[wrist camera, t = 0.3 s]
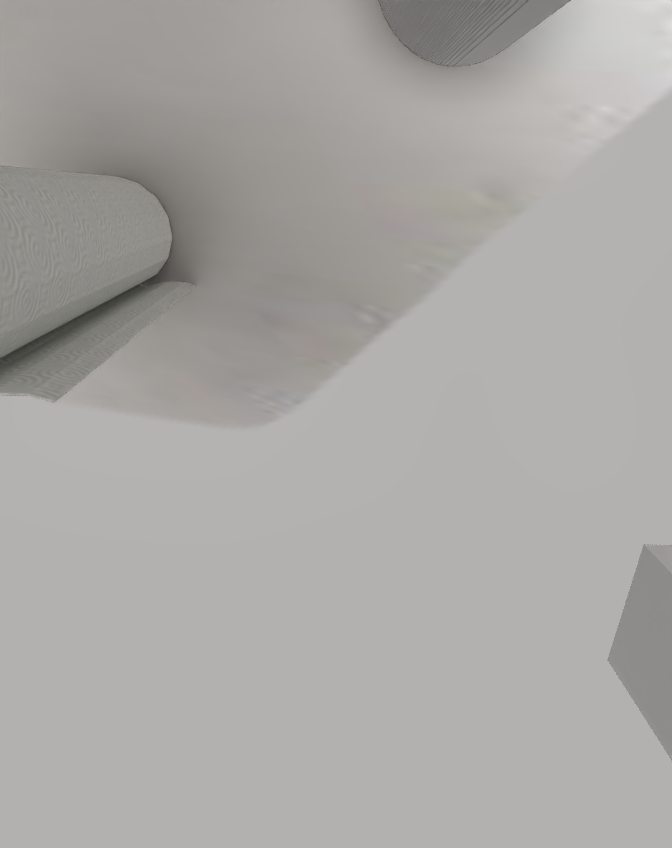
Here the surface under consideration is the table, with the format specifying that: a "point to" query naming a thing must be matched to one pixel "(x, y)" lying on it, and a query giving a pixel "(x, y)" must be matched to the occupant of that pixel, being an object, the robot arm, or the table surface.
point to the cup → (463, 26)
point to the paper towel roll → (75, 275)
